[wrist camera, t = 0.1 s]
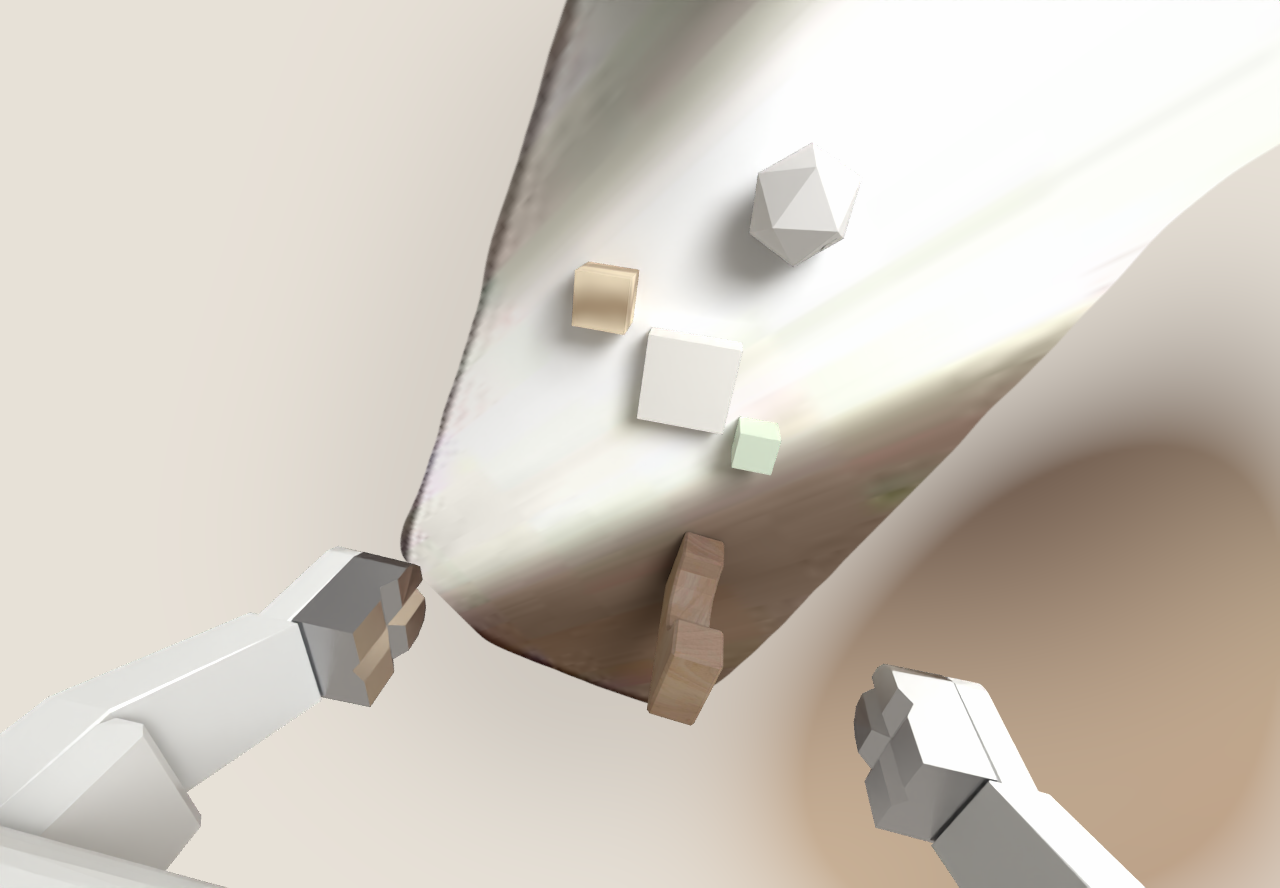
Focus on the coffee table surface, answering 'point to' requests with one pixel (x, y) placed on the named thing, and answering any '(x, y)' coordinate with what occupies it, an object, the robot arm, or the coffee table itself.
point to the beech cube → (604, 297)
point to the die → (803, 204)
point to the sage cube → (755, 445)
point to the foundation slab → (688, 380)
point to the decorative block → (688, 633)
